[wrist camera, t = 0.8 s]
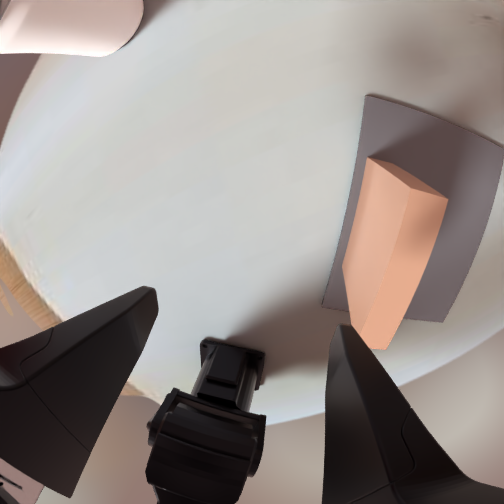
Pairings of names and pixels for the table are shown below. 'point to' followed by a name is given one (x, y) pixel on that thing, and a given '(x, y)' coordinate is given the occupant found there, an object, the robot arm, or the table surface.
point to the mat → (437, 177)
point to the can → (68, 26)
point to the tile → (388, 248)
